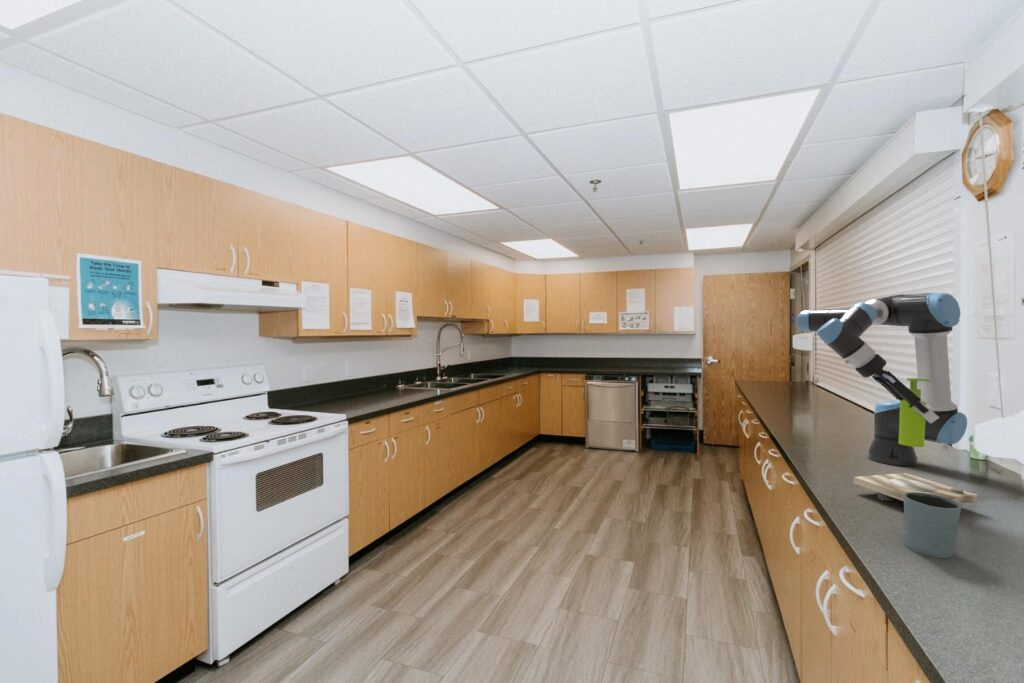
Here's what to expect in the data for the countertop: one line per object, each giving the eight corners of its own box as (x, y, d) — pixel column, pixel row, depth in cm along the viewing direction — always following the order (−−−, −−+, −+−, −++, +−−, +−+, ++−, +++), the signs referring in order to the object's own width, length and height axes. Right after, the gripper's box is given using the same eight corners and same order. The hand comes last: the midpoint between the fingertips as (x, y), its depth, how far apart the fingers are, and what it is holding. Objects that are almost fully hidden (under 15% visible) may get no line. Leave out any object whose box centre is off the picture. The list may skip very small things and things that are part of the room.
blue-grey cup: (901, 536, 118) (903, 488, 118) (957, 548, 112) (959, 498, 111) (902, 551, 110) (903, 500, 110) (961, 565, 104) (963, 511, 103)
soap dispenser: (933, 448, 138) (936, 379, 137) (905, 446, 139) (908, 378, 139) (920, 443, 144) (923, 377, 143) (894, 441, 145) (896, 376, 145)
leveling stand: (904, 488, 153) (905, 471, 153) (976, 512, 133) (977, 492, 133) (853, 492, 149) (853, 475, 148) (920, 518, 129) (920, 497, 129)
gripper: (846, 366, 155) (906, 420, 150) (863, 371, 138) (931, 432, 132) (867, 351, 153) (928, 405, 147) (886, 354, 136) (957, 415, 130)
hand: (929, 418), depth 140 cm, fingers closed on soap dispenser, 6 cm apart
